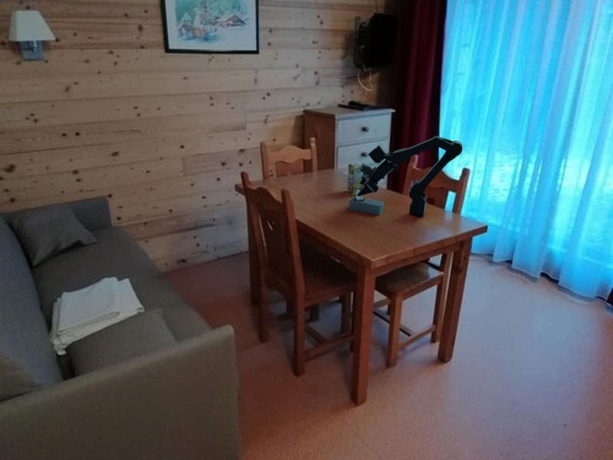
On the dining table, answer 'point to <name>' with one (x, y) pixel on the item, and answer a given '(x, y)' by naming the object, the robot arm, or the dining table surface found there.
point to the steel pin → (359, 187)
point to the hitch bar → (367, 206)
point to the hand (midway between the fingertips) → (356, 192)
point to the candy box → (353, 177)
